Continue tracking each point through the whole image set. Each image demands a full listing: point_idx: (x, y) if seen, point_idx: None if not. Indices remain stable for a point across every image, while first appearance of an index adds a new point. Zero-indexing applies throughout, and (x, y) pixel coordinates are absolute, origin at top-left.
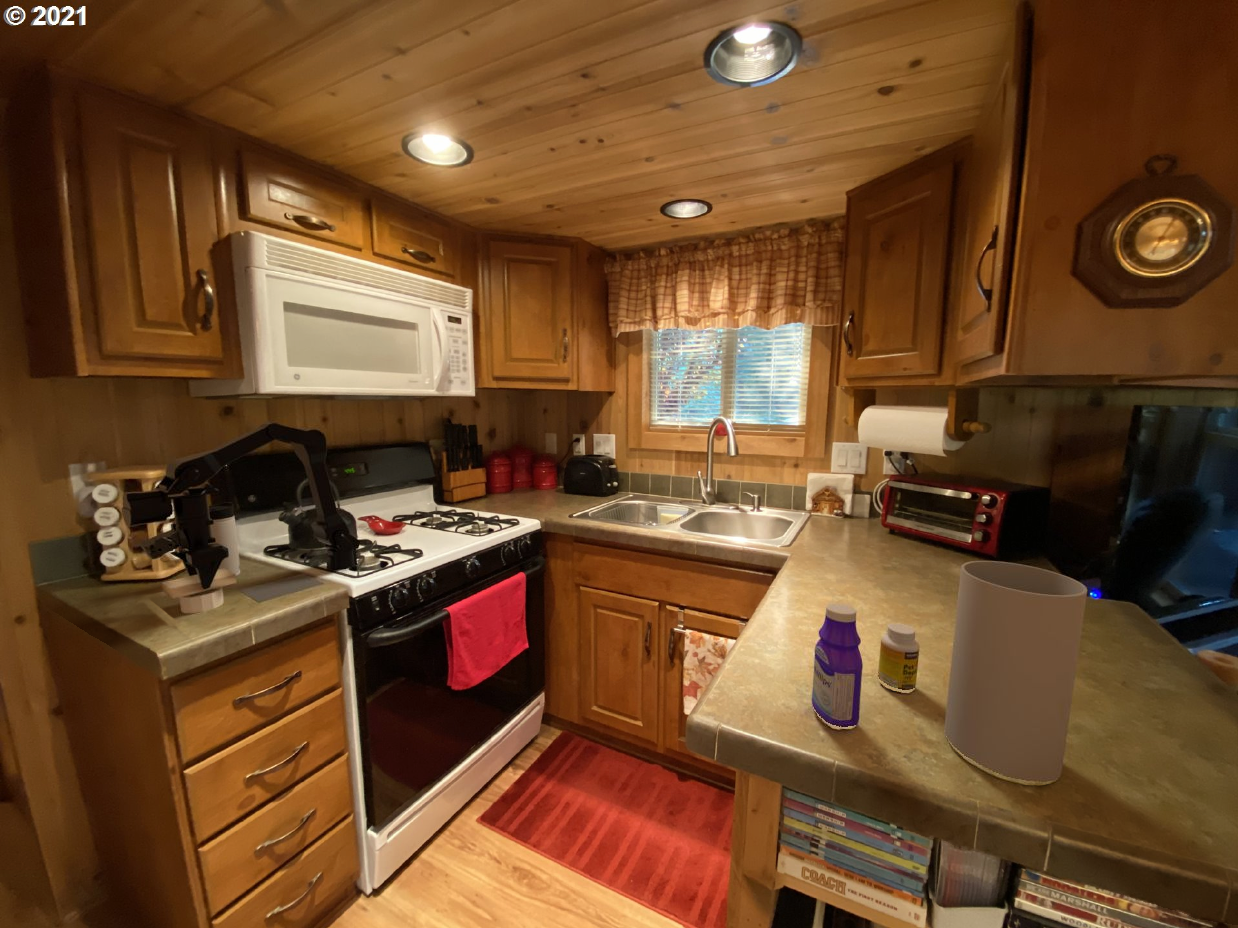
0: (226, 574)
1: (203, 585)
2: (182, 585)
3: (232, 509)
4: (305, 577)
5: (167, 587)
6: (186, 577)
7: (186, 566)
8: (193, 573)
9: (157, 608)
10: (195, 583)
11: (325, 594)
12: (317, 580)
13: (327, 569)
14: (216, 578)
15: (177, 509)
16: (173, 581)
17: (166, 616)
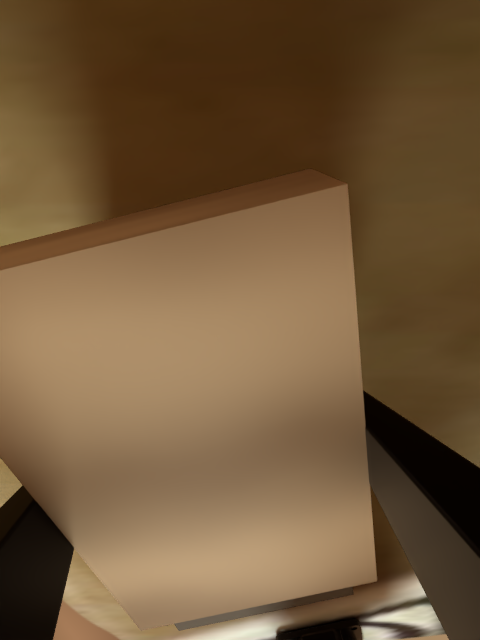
0: (179, 598)
1: (21, 491)
2: (27, 387)
3: None
4: (298, 599)
5: (72, 248)
6: (341, 403)
7: (445, 521)
8: (375, 462)
9: (460, 99)
10: (35, 471)
11: (101, 612)
12: (230, 618)
13: (330, 634)
14: (103, 567)
15: None
16: (281, 306)
17: (244, 152)
